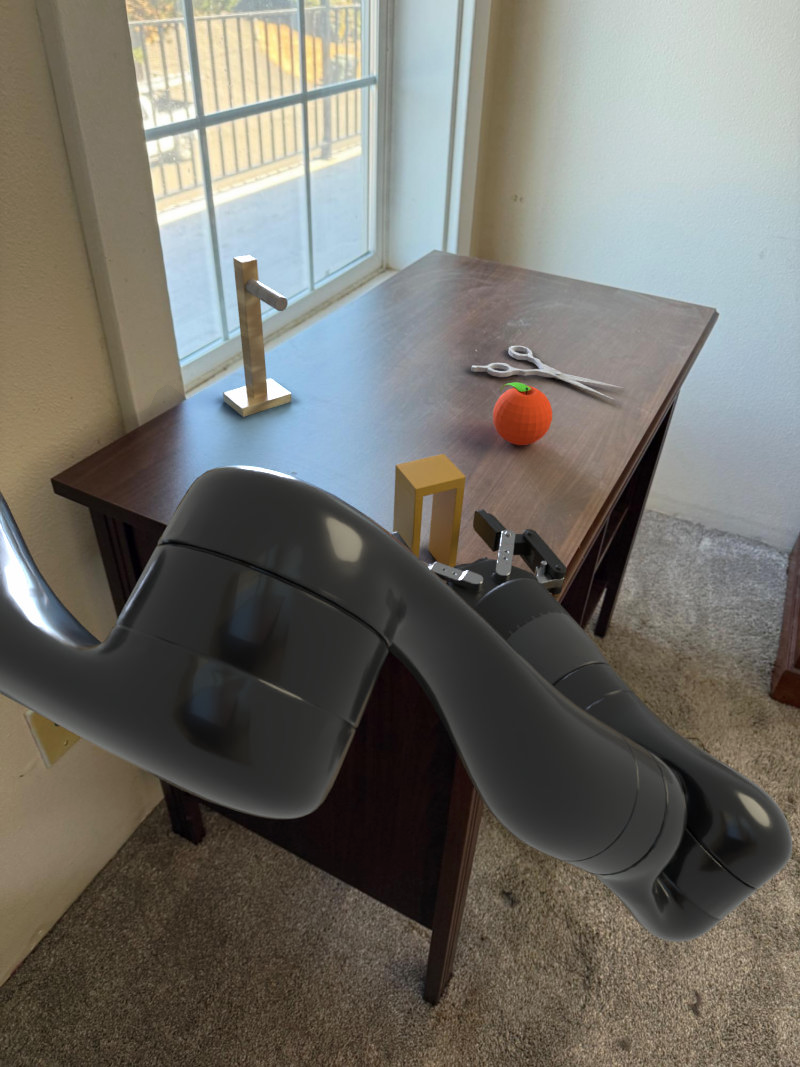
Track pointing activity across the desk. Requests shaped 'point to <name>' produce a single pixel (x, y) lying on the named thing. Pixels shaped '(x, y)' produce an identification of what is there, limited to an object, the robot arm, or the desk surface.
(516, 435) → the clementine
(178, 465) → the desk surface
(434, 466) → the yellow goalpost frame
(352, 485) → the desk surface
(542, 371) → the scissors
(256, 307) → the rack
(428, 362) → the desk surface
